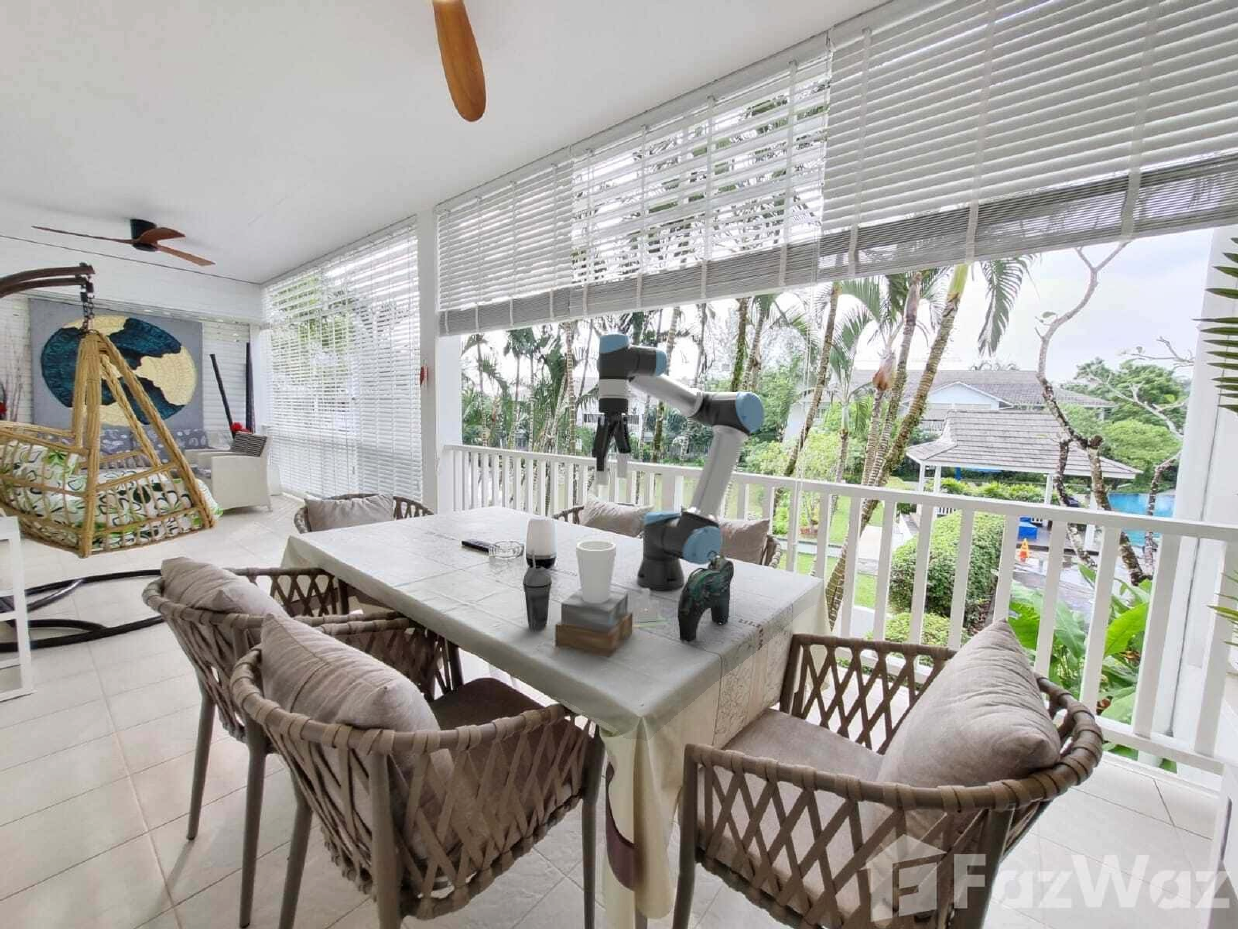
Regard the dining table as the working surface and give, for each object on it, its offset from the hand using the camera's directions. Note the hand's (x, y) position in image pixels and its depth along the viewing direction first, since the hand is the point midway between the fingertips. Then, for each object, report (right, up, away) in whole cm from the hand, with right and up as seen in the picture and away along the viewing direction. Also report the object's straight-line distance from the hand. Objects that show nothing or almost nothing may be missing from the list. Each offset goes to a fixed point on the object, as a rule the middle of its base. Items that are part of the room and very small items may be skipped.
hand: (612, 481), depth 127 cm
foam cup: (-4, -28, -9) cm, 30 cm away
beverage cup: (-19, -37, -1) cm, 42 cm away
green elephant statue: (+24, -38, -2) cm, 45 cm away
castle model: (+5, -37, +6) cm, 38 cm away
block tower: (-4, -38, -7) cm, 39 cm away
